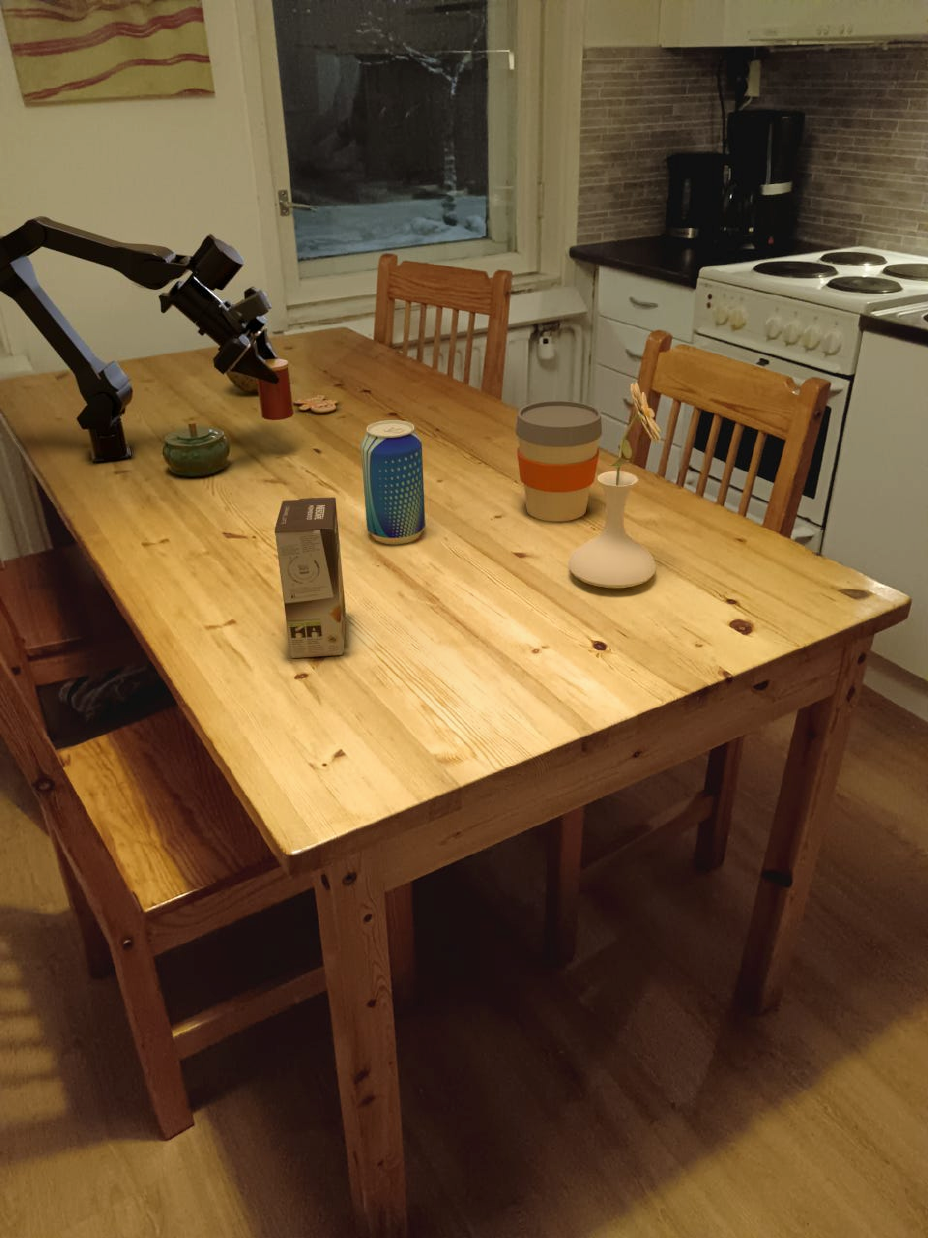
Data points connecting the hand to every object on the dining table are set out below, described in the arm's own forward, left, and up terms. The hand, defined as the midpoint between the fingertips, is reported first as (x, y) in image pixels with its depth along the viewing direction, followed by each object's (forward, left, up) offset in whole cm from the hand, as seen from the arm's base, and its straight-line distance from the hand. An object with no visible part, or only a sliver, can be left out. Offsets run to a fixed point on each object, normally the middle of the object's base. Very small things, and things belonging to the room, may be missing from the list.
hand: (281, 377), depth 162 cm
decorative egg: (-40, 0, -14) cm, 42 cm away
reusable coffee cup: (+40, +32, -14) cm, 54 cm away
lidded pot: (+1, -16, -13) cm, 21 cm away
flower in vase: (+62, +30, -14) cm, 71 cm away
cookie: (-24, +10, -13) cm, 29 cm away
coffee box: (+63, -10, -14) cm, 66 cm away
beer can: (+39, +7, -14) cm, 42 cm away
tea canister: (-1, -1, -7) cm, 7 cm away
